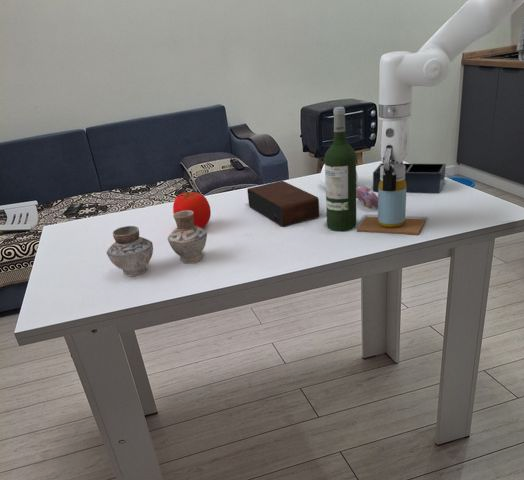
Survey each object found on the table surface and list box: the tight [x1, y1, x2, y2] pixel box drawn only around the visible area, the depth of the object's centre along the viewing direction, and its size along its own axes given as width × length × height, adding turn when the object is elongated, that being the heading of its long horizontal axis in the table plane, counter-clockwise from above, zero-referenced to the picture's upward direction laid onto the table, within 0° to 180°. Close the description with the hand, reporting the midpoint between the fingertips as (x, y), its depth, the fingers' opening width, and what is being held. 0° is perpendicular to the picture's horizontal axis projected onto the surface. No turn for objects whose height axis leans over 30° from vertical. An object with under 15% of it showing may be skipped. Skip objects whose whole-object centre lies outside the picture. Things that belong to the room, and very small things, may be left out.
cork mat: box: [356, 215, 426, 236], centre depth 142 cm, size 16×10×1 cm, turn 66°
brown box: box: [247, 180, 320, 228], centre depth 159 cm, size 24×12×6 cm, turn 25°
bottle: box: [377, 163, 407, 228], centre depth 138 cm, size 7×7×15 cm
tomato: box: [172, 191, 212, 229], centre depth 153 cm, size 10×11×11 cm
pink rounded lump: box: [356, 185, 378, 209], centre depth 156 cm, size 10×5×7 cm, turn 22°
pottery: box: [106, 210, 208, 277], centre depth 133 cm, size 11×25×12 cm, turn 109°
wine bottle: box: [324, 106, 357, 232], centre depth 138 cm, size 8×8×30 cm
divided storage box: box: [372, 162, 447, 194], centre depth 167 cm, size 20×10×6 cm, turn 66°
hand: (392, 185), depth 137 cm, fingers closed on bottle, 7 cm apart
